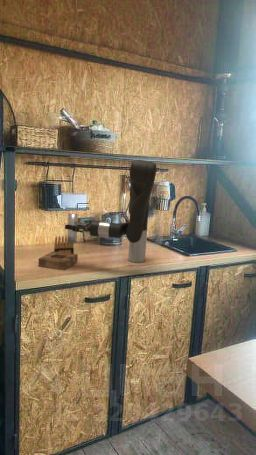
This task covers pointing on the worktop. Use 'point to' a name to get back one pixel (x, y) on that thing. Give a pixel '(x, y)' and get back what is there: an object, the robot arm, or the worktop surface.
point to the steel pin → (71, 234)
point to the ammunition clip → (63, 245)
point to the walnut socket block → (58, 260)
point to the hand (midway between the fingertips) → (67, 225)
